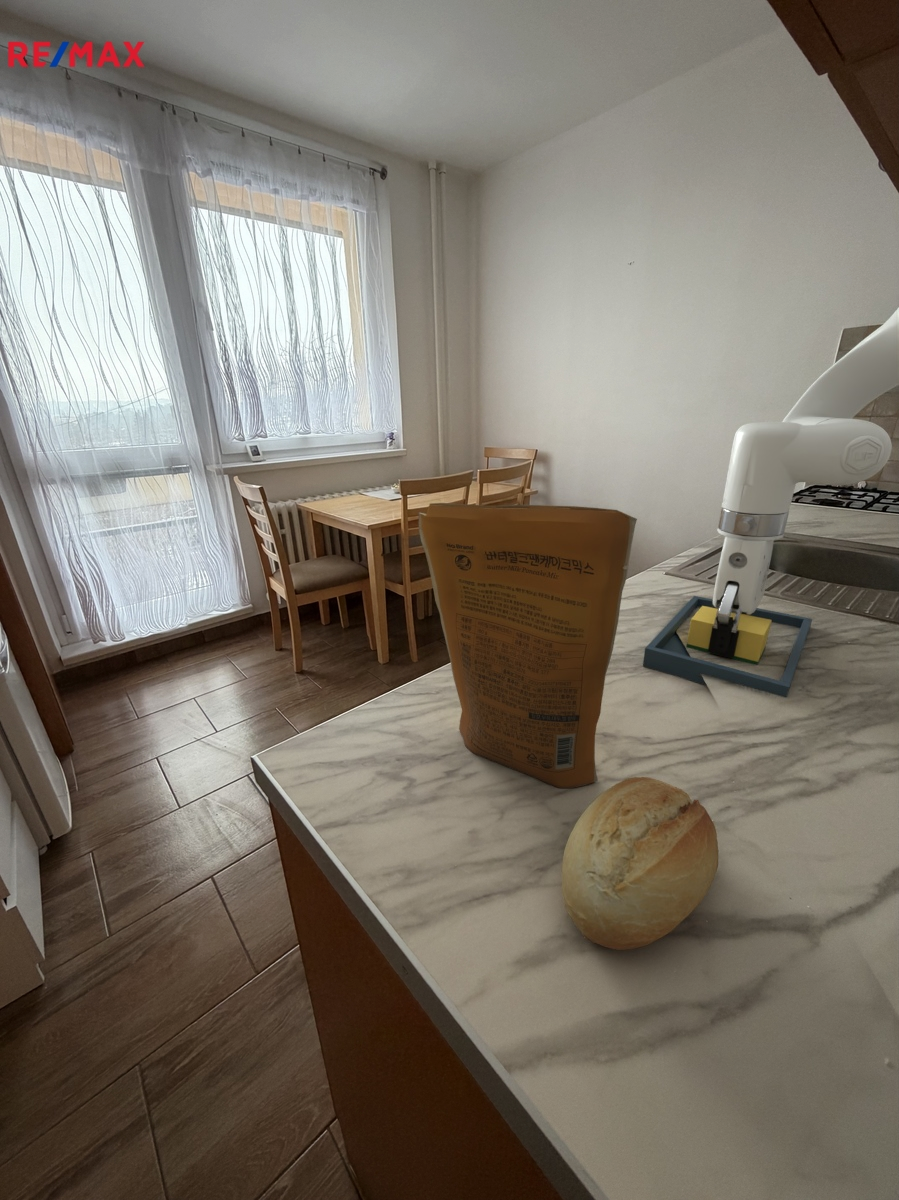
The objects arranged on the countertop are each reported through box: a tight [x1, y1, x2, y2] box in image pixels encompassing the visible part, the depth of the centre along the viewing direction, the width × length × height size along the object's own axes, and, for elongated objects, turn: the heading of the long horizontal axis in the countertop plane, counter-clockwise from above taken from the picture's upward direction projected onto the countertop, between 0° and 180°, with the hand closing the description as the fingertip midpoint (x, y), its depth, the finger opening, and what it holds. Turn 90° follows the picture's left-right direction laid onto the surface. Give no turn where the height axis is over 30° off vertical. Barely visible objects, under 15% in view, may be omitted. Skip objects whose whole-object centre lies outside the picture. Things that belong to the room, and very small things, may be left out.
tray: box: [642, 595, 813, 698], centre depth 72 cm, size 24×17×3 cm
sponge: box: [685, 606, 772, 666], centre depth 69 cm, size 6×9×5 cm, turn 50°
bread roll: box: [561, 776, 719, 951], centre depth 37 cm, size 10×15×8 cm, turn 135°
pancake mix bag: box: [418, 502, 638, 789], centre depth 47 cm, size 7×19×28 cm, turn 56°
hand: (726, 644), depth 70 cm, fingers closed on sponge, 6 cm apart
